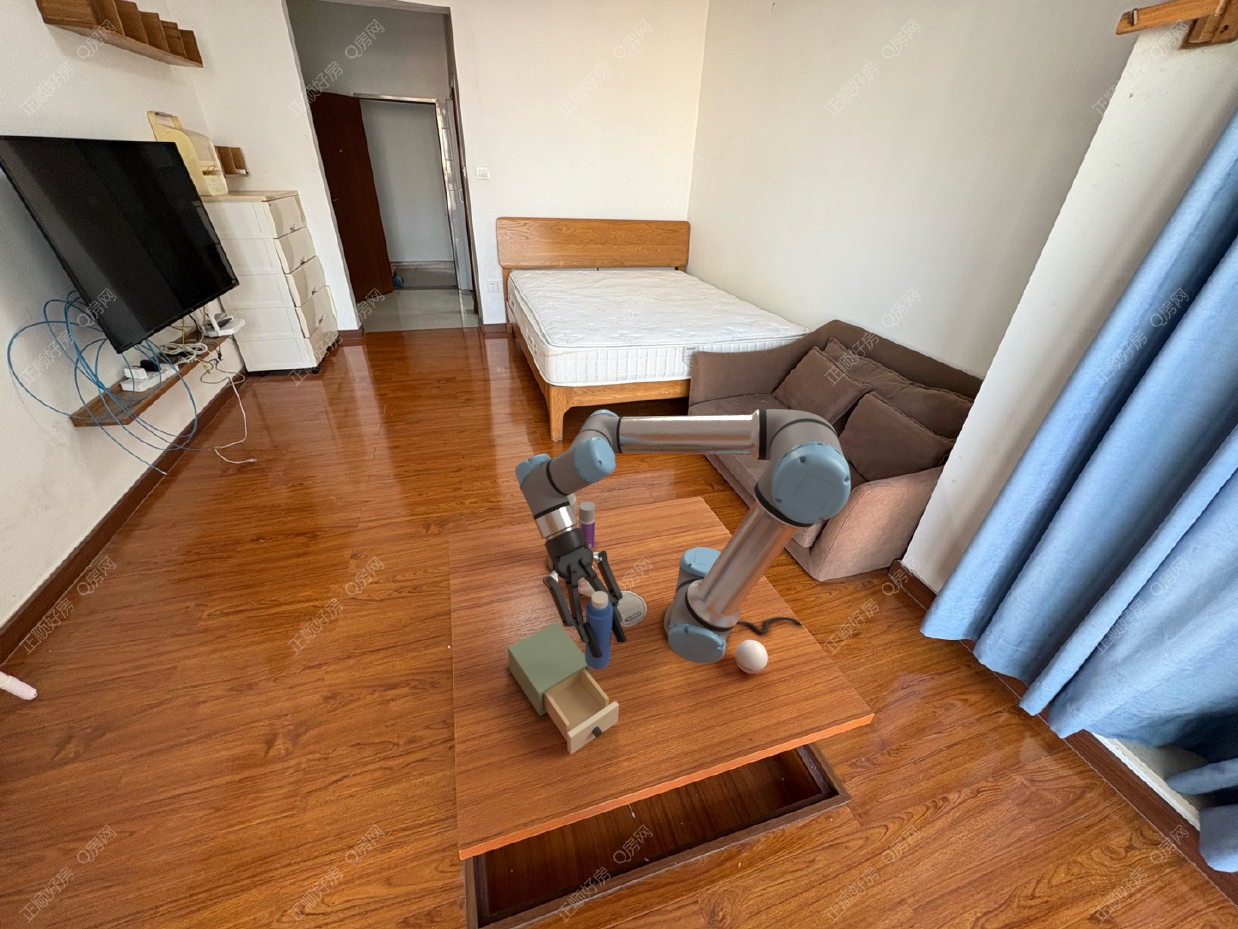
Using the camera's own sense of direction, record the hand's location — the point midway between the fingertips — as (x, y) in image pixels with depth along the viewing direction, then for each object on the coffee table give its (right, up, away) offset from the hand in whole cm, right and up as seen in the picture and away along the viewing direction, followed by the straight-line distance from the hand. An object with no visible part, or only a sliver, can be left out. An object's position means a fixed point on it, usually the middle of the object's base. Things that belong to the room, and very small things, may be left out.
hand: (610, 648), depth 94 cm
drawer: (-7, -17, +10) cm, 21 cm away
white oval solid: (+32, -14, +22) cm, 41 cm away
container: (-8, +10, +56) cm, 58 cm away
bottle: (-3, -4, +6) cm, 8 cm away
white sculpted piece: (-6, -1, +40) cm, 40 cm away
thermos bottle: (-15, +6, +50) cm, 52 cm away
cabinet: (-14, -13, +18) cm, 26 cm away
